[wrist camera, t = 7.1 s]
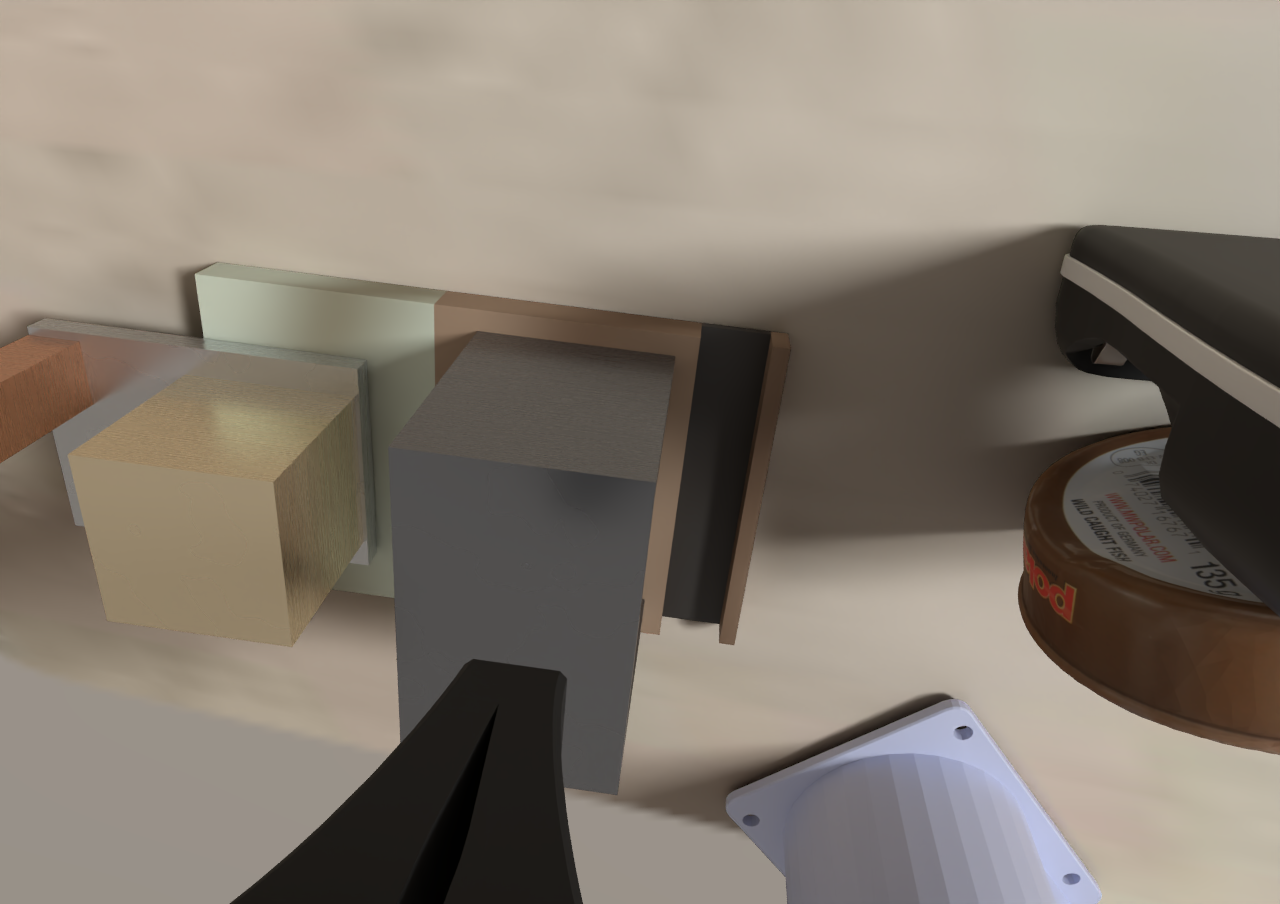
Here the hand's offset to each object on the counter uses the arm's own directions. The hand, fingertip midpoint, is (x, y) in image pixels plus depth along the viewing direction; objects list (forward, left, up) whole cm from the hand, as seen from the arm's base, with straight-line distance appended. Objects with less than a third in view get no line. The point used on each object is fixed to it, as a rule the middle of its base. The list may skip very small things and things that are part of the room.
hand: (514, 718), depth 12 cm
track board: (+1, +3, -10) cm, 11 cm away
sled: (+5, +8, -9) cm, 13 cm away
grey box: (-1, +2, -9) cm, 10 cm away
